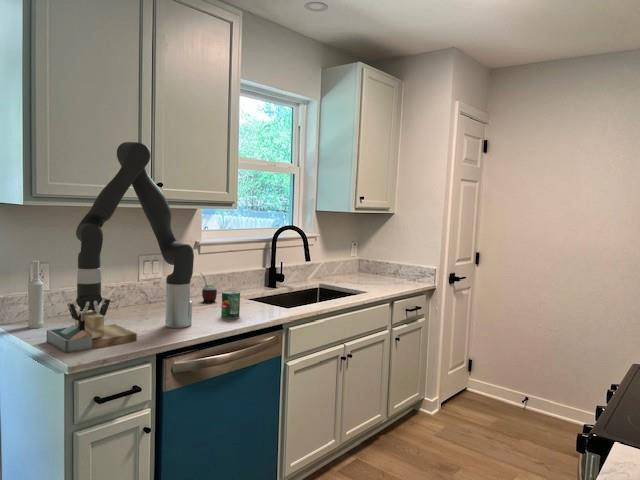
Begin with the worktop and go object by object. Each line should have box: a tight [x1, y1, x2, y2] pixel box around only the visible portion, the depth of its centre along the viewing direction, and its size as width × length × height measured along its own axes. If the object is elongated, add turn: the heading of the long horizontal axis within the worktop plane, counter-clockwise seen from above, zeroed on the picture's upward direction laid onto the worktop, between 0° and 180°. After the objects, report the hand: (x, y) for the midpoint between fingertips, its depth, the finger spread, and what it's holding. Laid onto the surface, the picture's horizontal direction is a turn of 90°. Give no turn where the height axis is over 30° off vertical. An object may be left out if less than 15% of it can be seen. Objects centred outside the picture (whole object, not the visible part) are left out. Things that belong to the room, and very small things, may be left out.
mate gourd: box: [199, 272, 218, 304], centre depth 245 cm, size 8×8×15 cm
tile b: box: [70, 330, 89, 339], centre depth 165 cm, size 4×4×2 cm
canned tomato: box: [220, 289, 241, 320], centre depth 217 cm, size 8×8×11 cm
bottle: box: [27, 260, 45, 329], centre depth 186 cm, size 5×5×25 cm
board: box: [92, 323, 138, 349], centre depth 175 cm, size 16×17×2 cm
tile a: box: [61, 324, 80, 340], centre depth 171 cm, size 4×4×2 cm
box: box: [46, 326, 93, 354], centre depth 167 cm, size 8×17×4 cm, turn 47°
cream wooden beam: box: [74, 309, 105, 338], centre depth 171 cm, size 4×14×7 cm, turn 47°
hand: (89, 329), depth 171 cm, fingers closed on cream wooden beam, 4 cm apart
